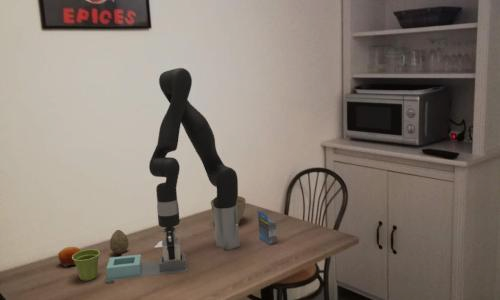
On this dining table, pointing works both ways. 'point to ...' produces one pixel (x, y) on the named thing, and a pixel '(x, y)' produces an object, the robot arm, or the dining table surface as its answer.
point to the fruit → (67, 255)
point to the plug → (177, 250)
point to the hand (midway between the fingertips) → (172, 256)
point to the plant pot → (87, 263)
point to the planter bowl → (240, 207)
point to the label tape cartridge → (266, 229)
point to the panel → (141, 267)
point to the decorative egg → (119, 242)
